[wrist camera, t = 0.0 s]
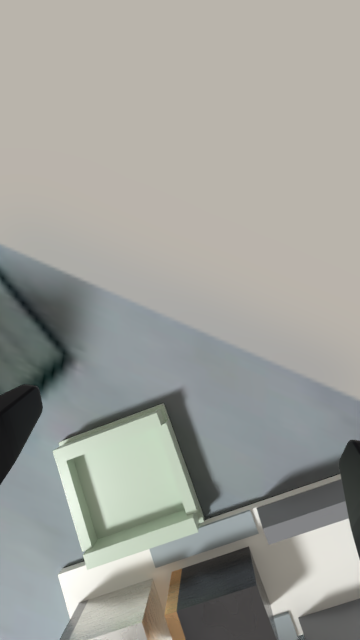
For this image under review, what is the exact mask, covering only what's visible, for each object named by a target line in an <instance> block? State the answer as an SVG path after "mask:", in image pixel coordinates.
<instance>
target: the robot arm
mask: <svg viewBox="0 0 360 640" xmlns="http://www.w3.org/2000/svg"><path fill="white" fill-rule="evenodd" d="M42 408H43V406H42V401H41V396H40V391H39V388H38V387H37V386H33V385H27V384H24V385H21V386H19V387H17V388H15V389H12V390H10V391H8V392H6V393H4V394H2V395H0V484H1V483H2V481H3V480H4V478H5V477H6V475H7V474H8V472H9V471H10V469H11V468H12V466H13V464H14V463H15V461H16V460H17V458H18V456H19V454H20V453H21V451H22V449H23V447H24V445H25V443H26V441H27V439H28V438H29V436H30V434H31V432H32V430H33V428H34V426H35V424H36V423H37V421H38V419H39V417H40V415H41V413H42ZM339 469H340V474H341V480H342V485H343V490H344V496H345V501H346V506H347V512H348V517H349V522H350V527H351V531H352V535H353V538H354V542H355V545H356V549H357V552H358V556H359V559H360V441H358V440H350V441H349V442H348V443H347V445H346V447H345V450H344V452H343V454H342V456H341V458H340V461H339Z"/></svg>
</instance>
